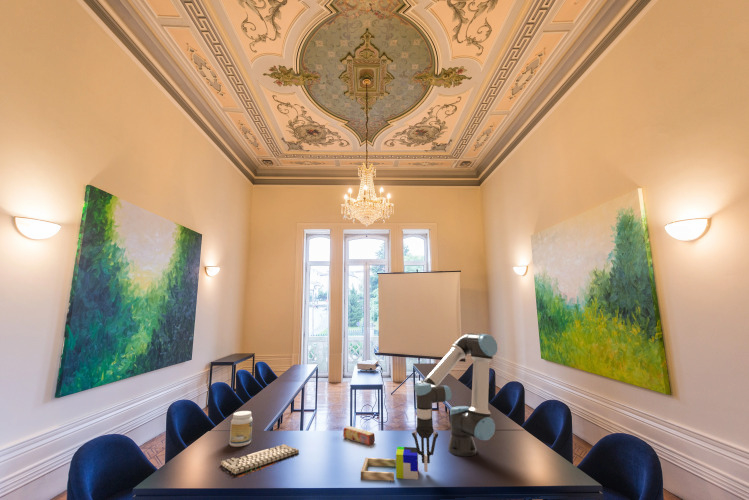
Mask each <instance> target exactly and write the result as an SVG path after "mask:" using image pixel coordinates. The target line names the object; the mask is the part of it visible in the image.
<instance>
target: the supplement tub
mask: <svg viewBox="0 0 749 500" xmlns="http://www.w3.org/2000/svg"><path fill="white" fill-rule="evenodd" d="M252 433H253V417H252V411H251V410H240V411H235V412H234V413H233V414H232V419H231V421H230V432H229V445H230V446H231V447H236V448H239V447H243V446H247V445H249V444H250V443H251V442H252Z"/></svg>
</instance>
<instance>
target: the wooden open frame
mask: <svg viewBox="0 0 749 500" xmlns="http://www.w3.org/2000/svg"><path fill="white" fill-rule="evenodd" d="M369 466H377V467H378V466H379V467H380V466H381V467H395V468H396V458H382V457H381V458H378V457H365V458H364V461H363V464H362V467H361V469H360V480H373V481H374V480H376V481H390V480H391V481H392V482H393V481H395V472H390V471H375V470H374V471H372V470H370V471H369V470H368V467H369Z"/></svg>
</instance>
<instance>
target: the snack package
mask: <svg viewBox="0 0 749 500" xmlns="http://www.w3.org/2000/svg"><path fill="white" fill-rule="evenodd" d="M342 436H343V438H344V439H348V440H349V441H354V442H357V443H360V444H364V445H367V446H371V445H373V444H375V433H374V432H373V431H372V432H371V431H368V430H365V429H361V428H357V427H354V426H351V425H346V426H345V427H344V428H343V435H342Z"/></svg>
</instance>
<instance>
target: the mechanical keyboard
mask: <svg viewBox="0 0 749 500" xmlns="http://www.w3.org/2000/svg"><path fill="white" fill-rule="evenodd" d="M299 455H300V450H299V449H298V448H296V447H293V446H289V445H288V444H286V443H283V444H281V445H277V446H275V447H270V448H266V449H263V450H259V451H256V452H253V453H250V454H246V455H243V456H240V457H237V458H235V457H231V458H227V459H224V460H222V461H221V462H220V465H219V468H221V469H222V471H223V472H224V473H227V474H229V475H231V476H232V477H234V478H236V477H238V478H240V477H244V476H246V475H248V474H251V473H254V472H257V471H261V470H263V469H265V468H267V467H270V466H272V465H275V464H277V463H279V462H281V461H284V460H287V459H291V458H293V457H295V456H299Z"/></svg>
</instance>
